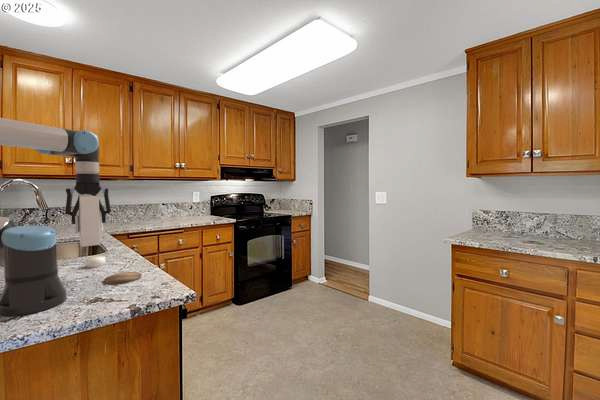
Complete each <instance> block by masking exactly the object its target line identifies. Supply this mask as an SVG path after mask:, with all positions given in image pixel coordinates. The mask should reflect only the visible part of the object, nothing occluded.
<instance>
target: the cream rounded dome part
mask: <svg viewBox="0 0 600 400" xmlns="http://www.w3.org/2000/svg"><path fill="white" fill-rule="evenodd" d="M85 264H86V265H85V267H86V268H87V269H95V268H101V267H105V266H106V256H104V255H98V256H90V257H87V258H85Z"/></svg>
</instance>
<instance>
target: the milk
mask: <svg viewBox="0 0 600 400" xmlns="http://www.w3.org/2000/svg"><path fill="white" fill-rule="evenodd" d="M77 195H78V197H79V196H80V197H79V210H78V215H79V245H80V246H81V247H84V248H85V247H90V246H101V232H100V217H99V215H100V210H99V200H100V196H99V193H98V194H96V196H92V195H91V194H84V195H82V194H80V193H79V194H77ZM78 197H77V198H78Z"/></svg>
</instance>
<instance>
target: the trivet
mask: <svg viewBox="0 0 600 400" xmlns="http://www.w3.org/2000/svg"><path fill="white" fill-rule="evenodd" d="M141 278H142V273H141V272H137V271H127V272H126V271H125V272H120V273H115V274H111V275H109V276H106V277H105V278H104V283H105V284H107V285H121V284H128V283H132V282H135V281H137V280H139V279H141Z"/></svg>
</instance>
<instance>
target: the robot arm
mask: <svg viewBox="0 0 600 400" xmlns="http://www.w3.org/2000/svg"><path fill="white" fill-rule="evenodd" d="M0 146H3V147H11V148H12V147H13V148H24V149H34V150H35V151H36V152H37V153H39V154H40V155H47V156H61V157H73V158H74V165H75V167H74V170H75V172H76V174H75V186H74V187H70V188H69V187H68V188H66V189H65V192H66V202H65V210H64V214H65V215H69V216H71V224H72V225H75V226H74V227H75V228H74V229H75V234H78V233H79V214H78V213H79V197H80V196H79V197H77V200H76V202H75V205H74V207H73V209H72V205H73V204H72V203H73V197H74V196H73V194H75V192H76V193H78V194H77V195H79V193H80V194H82V195H84V194H91V195H92V196H96V194H98V195H99V193H100V192H102V194H103V196H104V203H105V208H106V210H105V208H104V206H103V204H102V202H101V199H99V213H100V214H99V217H100V233H101V232H103V231H104V224H105V223H106V222H107V217H106V216H107V214H110V213H111V212H112V210H111V202H110V197H109V196H110V195H109V193H110V189H109V188H108V187H107V188H105V187H102V186H101V181H100V180H101V179H100V177H101V176H100V174H99V173H100V149H99V148H100V144H99V137H98V135H97V134H95V133H93V132H92V131H90V130H82V129H81V130H73V129H68V128H62V127H61V128H60V127H57V126H56V127H55V126H51V125H44V124H40V123H33V122H29V121H28V122H25V121H21V120H15V119H10V118H3V117H0ZM56 235H57V234H56V231H55V230H54V229H53V228H52V227H50V226H45V225H19V226H18V225H17V224H16V223H15V222H14V221H12V219H10V217H8V216H0V267H1V268H3V272H4V273H3V274H4V286H3V287H4V288H3V290H2V292H1V295H0V316H4V317H12V316H13V317H15V316H25V315H29V314H34V313H38V312H42V311H44V310H45V311H46V310H49V309H51V308H54V307H57V306H58V305H60V304H62V303H64V302H65V301H66V300H67V290H66V288H65V286H64V285H63V283H62V280H61V278H60V276H59V267H58V265H59V264H58V247H57V246H58V245H57V244H58V243H57V242H58V238H57V236H56Z"/></svg>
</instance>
